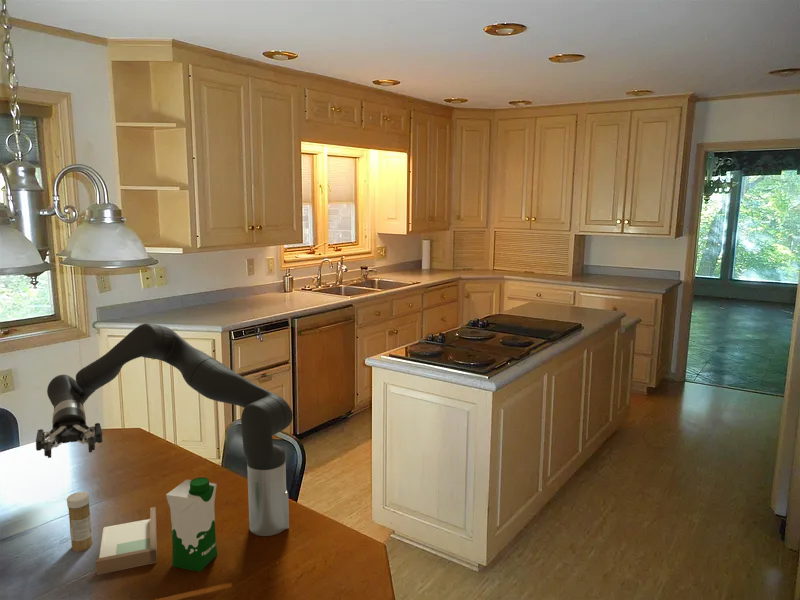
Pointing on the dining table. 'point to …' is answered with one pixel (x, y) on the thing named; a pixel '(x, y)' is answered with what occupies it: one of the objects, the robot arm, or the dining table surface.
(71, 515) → the sprinkles bottle
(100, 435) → the robot arm
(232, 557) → the dining table surface
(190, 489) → the milk carton
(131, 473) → the dining table surface
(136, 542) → the pad
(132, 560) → the tray
